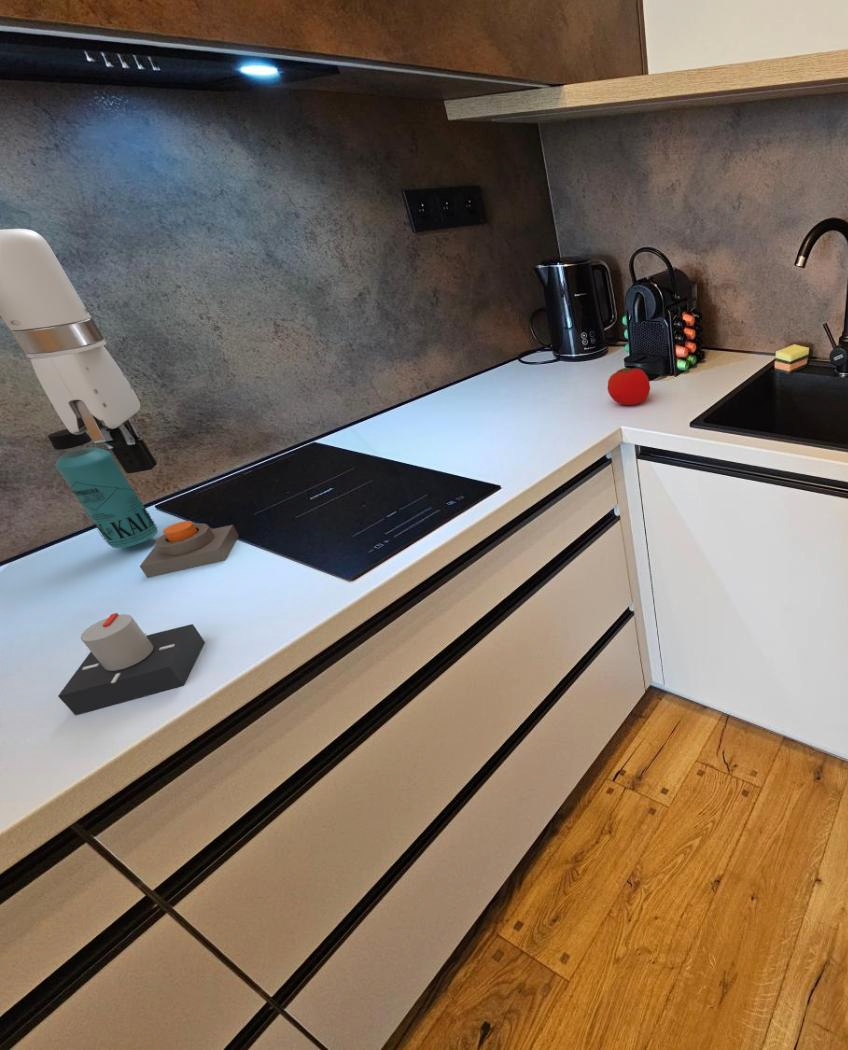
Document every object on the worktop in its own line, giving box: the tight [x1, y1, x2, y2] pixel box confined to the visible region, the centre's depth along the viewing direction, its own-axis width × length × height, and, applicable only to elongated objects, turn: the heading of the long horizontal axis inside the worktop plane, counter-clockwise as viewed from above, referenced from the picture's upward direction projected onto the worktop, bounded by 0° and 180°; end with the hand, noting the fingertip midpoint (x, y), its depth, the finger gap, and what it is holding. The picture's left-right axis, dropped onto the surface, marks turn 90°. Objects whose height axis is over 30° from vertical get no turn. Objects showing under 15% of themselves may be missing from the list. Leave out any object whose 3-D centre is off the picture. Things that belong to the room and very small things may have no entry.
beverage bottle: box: [47, 428, 158, 549], centre depth 90 cm, size 6×7×20 cm
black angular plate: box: [57, 623, 206, 716], centre depth 67 cm, size 10×9×3 cm
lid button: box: [162, 520, 198, 542], centre depth 89 cm, size 4×4×2 cm
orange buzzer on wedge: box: [139, 523, 240, 579], centre depth 90 cm, size 10×8×4 cm
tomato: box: [606, 367, 651, 406], centre depth 137 cm, size 9×10×8 cm
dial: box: [80, 612, 153, 671], centre depth 65 cm, size 4×4×5 cm
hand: (142, 469), depth 83 cm, fingers closed
